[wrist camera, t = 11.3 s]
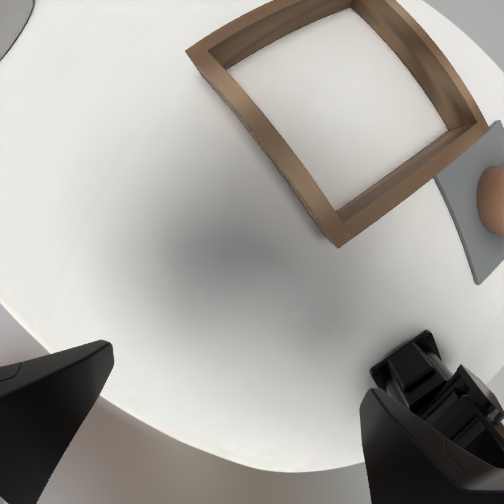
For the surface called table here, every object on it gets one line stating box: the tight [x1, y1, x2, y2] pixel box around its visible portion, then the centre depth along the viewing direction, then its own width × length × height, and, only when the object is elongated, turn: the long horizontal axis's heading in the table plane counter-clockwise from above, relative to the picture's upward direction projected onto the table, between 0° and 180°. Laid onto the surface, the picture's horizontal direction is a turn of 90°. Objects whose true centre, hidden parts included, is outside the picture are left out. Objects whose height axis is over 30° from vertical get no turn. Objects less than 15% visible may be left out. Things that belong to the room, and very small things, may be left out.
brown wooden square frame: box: [185, 0, 490, 248], centre depth 14 cm, size 15×15×4 cm
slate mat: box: [433, 120, 504, 285], centre depth 17 cm, size 11×11×1 cm
